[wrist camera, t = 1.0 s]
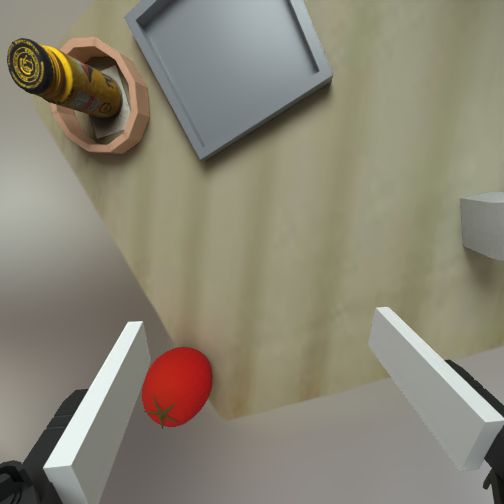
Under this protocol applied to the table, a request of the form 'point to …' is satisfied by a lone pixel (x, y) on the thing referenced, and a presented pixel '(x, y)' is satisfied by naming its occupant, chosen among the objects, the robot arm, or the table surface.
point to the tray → (229, 63)
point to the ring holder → (137, 90)
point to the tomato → (177, 386)
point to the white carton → (484, 224)
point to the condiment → (70, 84)
